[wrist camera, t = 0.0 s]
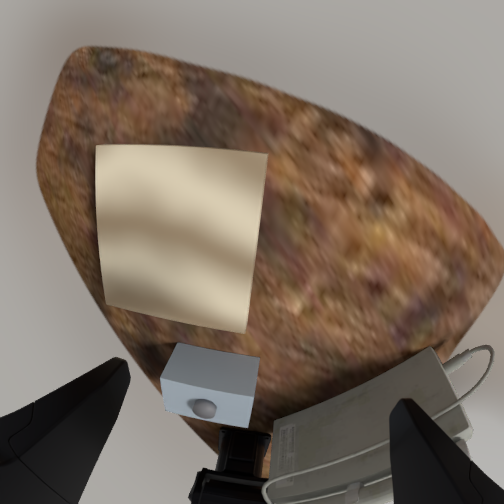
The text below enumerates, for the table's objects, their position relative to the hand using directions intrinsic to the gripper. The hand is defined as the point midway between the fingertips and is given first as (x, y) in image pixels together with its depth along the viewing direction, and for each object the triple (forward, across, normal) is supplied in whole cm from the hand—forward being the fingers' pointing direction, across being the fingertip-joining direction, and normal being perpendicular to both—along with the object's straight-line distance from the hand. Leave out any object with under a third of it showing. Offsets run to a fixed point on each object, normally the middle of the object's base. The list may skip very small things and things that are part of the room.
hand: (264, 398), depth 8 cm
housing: (+15, +4, +14) cm, 21 cm away
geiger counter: (+15, -12, +14) cm, 24 cm away
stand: (+15, +8, 0) cm, 17 cm away
